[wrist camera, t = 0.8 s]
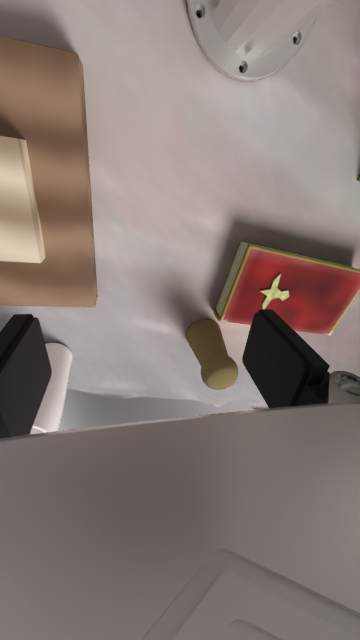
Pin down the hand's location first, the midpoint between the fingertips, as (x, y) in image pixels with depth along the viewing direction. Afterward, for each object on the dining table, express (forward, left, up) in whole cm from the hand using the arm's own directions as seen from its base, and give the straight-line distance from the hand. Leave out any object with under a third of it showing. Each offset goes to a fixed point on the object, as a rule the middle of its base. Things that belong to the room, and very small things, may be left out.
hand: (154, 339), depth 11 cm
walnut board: (-2, -14, -24) cm, 28 cm away
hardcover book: (+8, +23, -25) cm, 35 cm away
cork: (+17, +11, -24) cm, 32 cm away
